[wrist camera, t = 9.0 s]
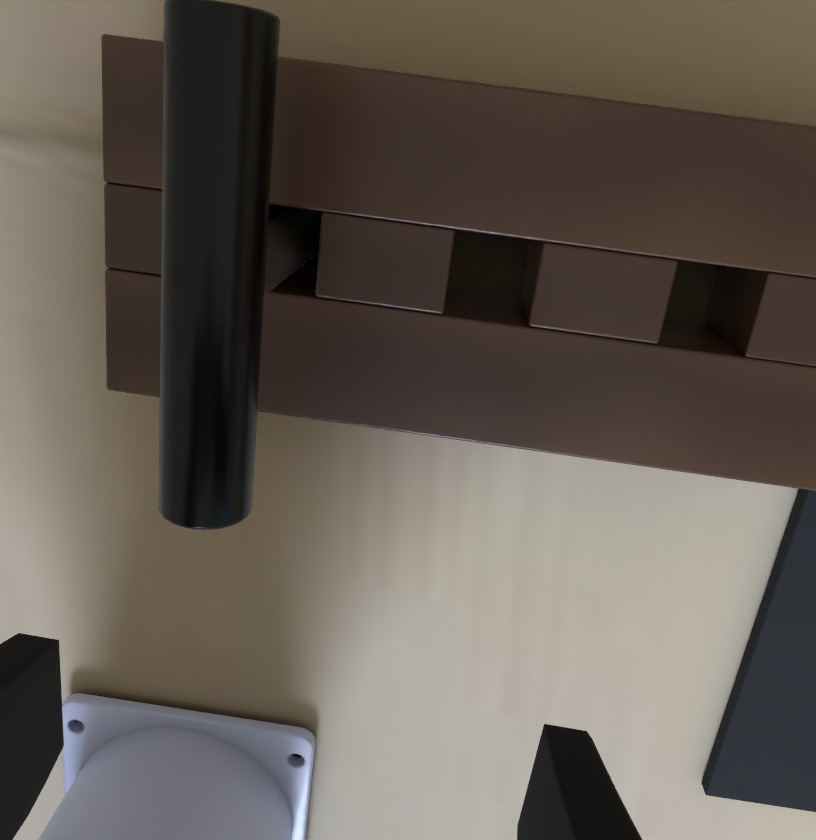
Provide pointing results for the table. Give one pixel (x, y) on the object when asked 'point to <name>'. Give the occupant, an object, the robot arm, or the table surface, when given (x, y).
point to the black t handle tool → (217, 253)
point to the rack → (543, 278)
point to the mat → (776, 685)
